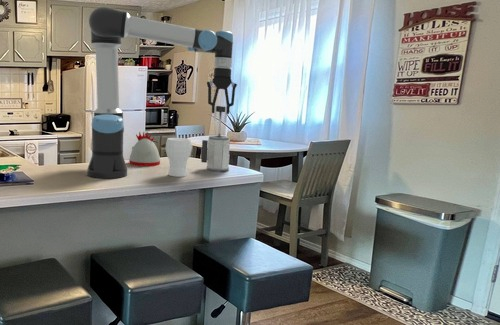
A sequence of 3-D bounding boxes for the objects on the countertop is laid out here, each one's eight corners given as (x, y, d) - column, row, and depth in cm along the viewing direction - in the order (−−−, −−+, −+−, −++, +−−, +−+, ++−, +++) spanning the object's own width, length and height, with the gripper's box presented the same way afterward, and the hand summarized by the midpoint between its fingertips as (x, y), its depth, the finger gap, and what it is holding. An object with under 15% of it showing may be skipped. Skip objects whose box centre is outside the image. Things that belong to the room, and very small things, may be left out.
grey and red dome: (130, 160, 211) (131, 129, 208) (160, 161, 213) (161, 130, 211) (128, 166, 197) (128, 132, 195) (159, 166, 200) (160, 133, 197)
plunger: (211, 149, 197) (213, 106, 194) (211, 147, 203) (213, 105, 200) (225, 149, 197) (227, 107, 194) (225, 147, 204) (228, 106, 200)
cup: (185, 178, 178) (186, 141, 176) (160, 176, 180) (161, 139, 178) (194, 173, 189) (195, 138, 186) (170, 171, 191) (171, 136, 188)
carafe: (200, 170, 197) (201, 137, 194) (201, 166, 207) (203, 134, 204) (228, 172, 197) (230, 138, 195) (228, 168, 207) (230, 136, 205)
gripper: (202, 66, 190) (200, 120, 194) (242, 68, 191) (239, 122, 195) (203, 67, 198) (201, 119, 202) (242, 69, 198) (238, 121, 202)
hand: (220, 121), depth 198 cm, fingers closed on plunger, 4 cm apart
